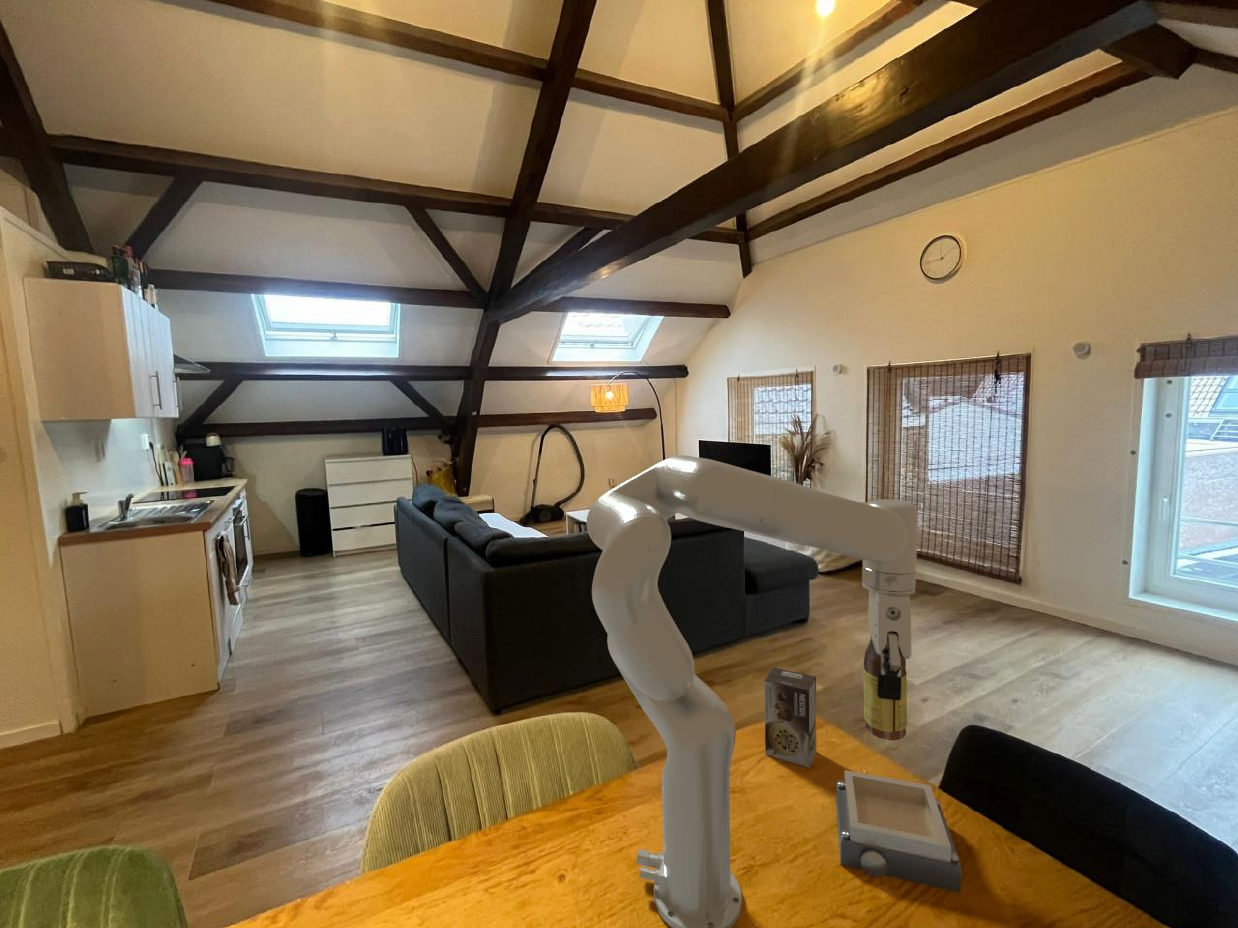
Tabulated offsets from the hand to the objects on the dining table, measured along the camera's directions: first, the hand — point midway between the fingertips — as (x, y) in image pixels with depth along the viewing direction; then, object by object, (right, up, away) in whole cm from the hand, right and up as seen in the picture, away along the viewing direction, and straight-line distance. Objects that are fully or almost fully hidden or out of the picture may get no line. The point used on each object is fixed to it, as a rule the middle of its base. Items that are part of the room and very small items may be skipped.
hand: (884, 686), depth 87 cm
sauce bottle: (0, -8, +1) cm, 8 cm away
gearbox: (+1, -25, 0) cm, 25 cm away
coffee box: (-8, -24, +23) cm, 34 cm away
